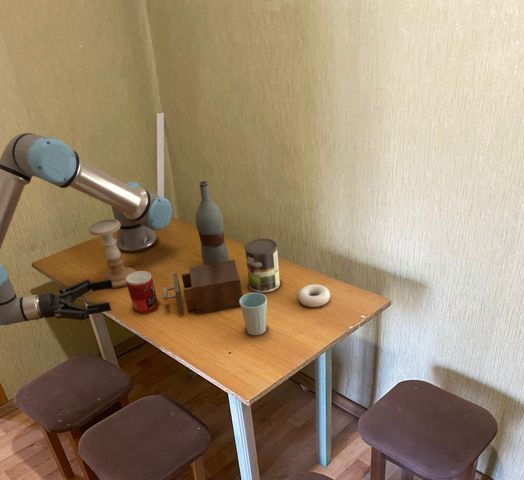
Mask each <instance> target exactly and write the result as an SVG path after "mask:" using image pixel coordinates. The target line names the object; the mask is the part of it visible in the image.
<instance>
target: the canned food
mask: <svg viewBox="0 0 524 480" xmlns="http://www.w3.org/2000/svg"><path fill="white" fill-rule="evenodd" d="M126 283H127V285H126V286H127V289H128V293H129V296H130V300H131V303H132V307H133V309H134V310H135V312H138V313H141V314H145V313H146V314H147V313H150V312H152V311H154V310H156V309H157V308H158V305H159V302H158V298H157V297H158V296H157V293H156V289H155V285H154V281H153V277H152V274H151V272H149V271H146V270H136V272H133V273H131V274H129V275H128V276H127V277H126Z"/></svg>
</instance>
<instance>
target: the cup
mask: <svg viewBox="0 0 524 480" xmlns="http://www.w3.org/2000/svg"><path fill="white" fill-rule="evenodd" d="M267 301H268V299H267V296H266V295H265V294H263V293H260V292H249V293H246V294H244V295H242V297H241V298H240V301H239V302H240V306H239V307H240V310H241V313H242V317H243V321H244V324H245V325H244V326H245V328H246V332H247V334H249V335H250V336H260V335H262V334H264V333H266V329H267V304H268V303H267Z"/></svg>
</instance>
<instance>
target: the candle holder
mask: <svg viewBox="0 0 524 480" xmlns="http://www.w3.org/2000/svg"><path fill="white" fill-rule="evenodd" d="M120 227H121V223H120V222H119V221H118V220H115V218H106V219H100V220H98V221H96V222H95V221H94V222H93V223H91V225H90V226H88V233H89V234H91V235H92V236H99V237H101V238H102V241H101V245H102V246H103V247H104V259H106V266H108V267H109V270H108V271H106V272H105V273H104V274H103V275H102V277H101V281H105V280H111V282H112V285H113V288H112V289H118V288H123V287H126V286H127V283H126V277H127V276H128V275H129V274H131V273H133V272H136V271H137V270H136V269H135V268H132V267H130V266H126V265H124V258H122V257H121V256H122V251H121V250H119V249H118V246H117V238H115V237H114V233H117V230H118V229H120Z"/></svg>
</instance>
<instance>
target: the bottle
mask: <svg viewBox="0 0 524 480" xmlns="http://www.w3.org/2000/svg"><path fill="white" fill-rule="evenodd" d="M198 184H199V190H200V196H201V197H200V198H201V200H200V202H199V205H198V207H197V209H196V211H195V216H194V217H195V226H196V229H197V232H198V237H199V241H200V252H201V253H200V254H201V260H202V263H203V265H206V264H212V263H218V262H224V261H229V251H228V248H227V244H226V242H225V241H226V240H225V229H224V223H225V222H224V218H223V217H224V216H223V214H222V211H221V208H220V207H219V206H218V205H217V204H216V203H215V202H214V201H213V199H212V198H211V196H210V190H209V185H208V184H209V183H208V181H207V180H203V181H199V183H198Z"/></svg>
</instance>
